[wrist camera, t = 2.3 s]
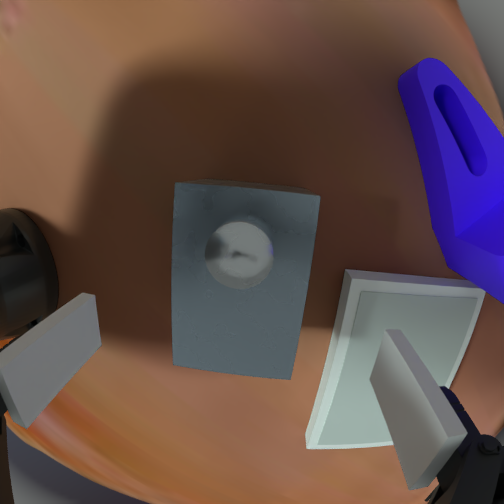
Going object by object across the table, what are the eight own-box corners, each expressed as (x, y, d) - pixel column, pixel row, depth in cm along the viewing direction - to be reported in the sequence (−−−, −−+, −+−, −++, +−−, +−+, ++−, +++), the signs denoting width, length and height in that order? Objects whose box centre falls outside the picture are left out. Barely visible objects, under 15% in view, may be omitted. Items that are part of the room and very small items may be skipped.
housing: (200, 315, 28) (168, 381, 19) (207, 178, 25) (168, 183, 15) (285, 325, 28) (289, 397, 18) (303, 187, 25) (324, 197, 15)
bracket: (513, 212, 24) (590, 235, 12) (447, 266, 26) (520, 316, 14) (441, 55, 20) (511, 14, 9) (359, 96, 23) (418, 49, 11)
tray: (305, 434, 32) (306, 449, 29) (345, 269, 26) (352, 279, 24) (414, 428, 31) (419, 442, 28) (473, 280, 26) (487, 289, 23)
